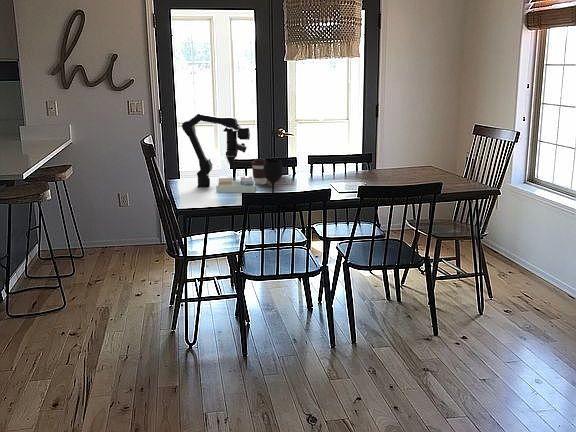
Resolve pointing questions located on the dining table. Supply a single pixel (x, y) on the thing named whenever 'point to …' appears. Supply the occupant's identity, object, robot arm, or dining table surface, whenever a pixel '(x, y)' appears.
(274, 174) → the wine glass
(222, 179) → the taped carton
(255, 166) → the coffee cup
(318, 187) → the dining table surface
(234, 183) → the tote
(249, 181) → the tin can
